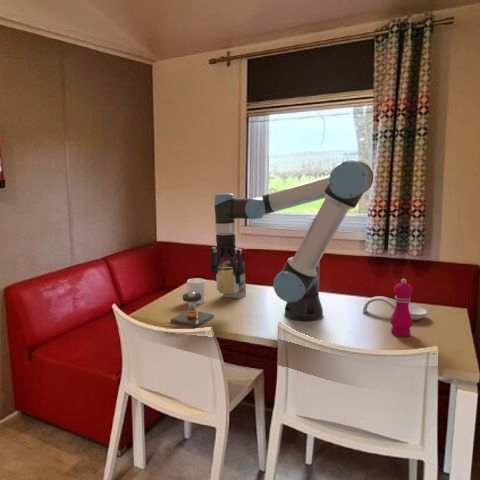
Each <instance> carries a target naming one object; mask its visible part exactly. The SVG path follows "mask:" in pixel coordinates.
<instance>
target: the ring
mask: <svg viewBox="0 0 480 480" xmlns="http://www.w3.org/2000/svg"><path fill="white" fill-rule="evenodd" d="M199 300H201V294H200V293H196V296H194V297H189V296H188V292H186V293H184V294H182V301H183V302H186V303H188V302H197V301H199Z"/></svg>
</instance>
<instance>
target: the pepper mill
mask: <svg viewBox="0 0 480 480" xmlns="http://www.w3.org/2000/svg"><path fill="white" fill-rule="evenodd" d="M393 292H394V294H395V296H394V300H396V308H395V310H393V312H392V314H391V316H390V321H389V322H390V325H391V326H392V327H391V328H390V329H391V330H390V333H391V335H393V336H395V337H399V338H407V337H410V336H411V329H410V328H411V327H412V326H413V320H412V318H411V315H410V313H409V304H410V302H411V298H412V297H411V296H412V294H413V292H414V290H413V288H412V285H410V284H409V283H407V279H406V278H402V279H401V280H400V282H399V283H397V284H396V285H395V286H394V287H393Z"/></svg>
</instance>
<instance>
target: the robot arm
mask: <svg viewBox="0 0 480 480" xmlns="http://www.w3.org/2000/svg"><path fill="white" fill-rule="evenodd" d="M373 182H374V173H373V170H372V169H371V167H370V166H369V165H368V164H366V163H365V162H364V161H359V160H345V161H342V162H339V163H337V165H335V167H334V168H333V169H332V171H330V173H329V175H327V176H324V177H321V178H317V179H315V180H310V181H308V182H305V183H300V184H298V185H295V186H291V187H288V188H284V189H281V190H278V191H274V192H271V193H267V194H263V195H261V196H257V197H250V198H235V195H234V194H233V193H217V194H215V196H214V206H213V207H214V214H215V215H214V216H215V217H214V218H215V233H216V234H215V243H216V246H213V247H210V249H209V250H210V265H209V271H210V272H211V273H214V281H215V282H216V290H217V291H218V274H217V269H219V268H222V263H223V262H224V259H225V258H227V259H228V260H230V263H231V265H232V268H233V271H234V274H235V275H234V276H233V282H234V292H235V293H236V292H237V291H239V283H240V275H242V274H244V273H245V274H246V270H245V271H244V265H243V262H244V259H243V251H244V250H243V248H237V247H236V234H235V232H236V225H235V224H236V223H235V220H236V219H247V220H260V219H262V218H263V217H264V216H266V215H269V214H273V213H275V212H279V211H283V210H287V209H289V208H293V207H297V206H301V205H305V204H309V203H313V202H315V201H320V200H323V199H324V200H323V202H322V204H321V206H320V208H319V210H318V211H317V213H316V215H315V217H314V219H313V221H312V223H311V225H310V226H309V228H308V230H307V232H306V234H305V235H304V238H303V239H302V241H301V243H300V245H299V247H298V249H297V250H296V252H295V254H294V256H291V257H288V259H287V260H286V262H285V264H284V266H283V267H282V269H281V271H280V272H278V273H277V274H276V275H275V277H274V279H273V284H272V286H273V290H274V293H275V294H276V296H277V297H278V298H279V299H280V300H282V301H284V302H286V304H285V307H284V315H285V317H287V318H288V319H292V320H295V321H300V322H301V321H302V322H303V321H304V322H306V321H307V322H308V321H317V320H320V319H321V318H322V317H323V314H324V313H323V312H324V310H323V306H322V303H321V299H320V296H319V292H320V286H319V285H320V270H321V268H320V267H321V266H320V261H321V259H322V257H323V255H324V254H325V252H326V251H327V248H328V247H329V246H330V243H331V242H332V239H333V238H334V236H335V234H336V233H337V231H338V229H339V228H340V226H341V224H342V222H343V220H344V218H345V217H346V216H347V213H348V212H349V211H350V210H352V209H355V208H356V206H357V205H358V203H359V202H360V200H361V199H362V197H363V195H364V193H365V194H366V192H368V191H369V190H370V188H371V187H372V185H373ZM217 253H218V254H217ZM236 261H237V262H236ZM237 264H238V265H237Z"/></svg>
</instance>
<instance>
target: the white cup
mask: <svg viewBox="0 0 480 480" xmlns="http://www.w3.org/2000/svg"><path fill="white" fill-rule="evenodd" d="M186 283H187V284H186V286H187V293H188V292H192V291H193V292H196V293H200V294H201V300H199V301H197V302H196V306H197V305H203V304H205V293H206V292H205V291H206V279H204V278H201V277H198V278H197V277H196V278H195V277H194V278H189V279H187V281H186Z"/></svg>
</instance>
